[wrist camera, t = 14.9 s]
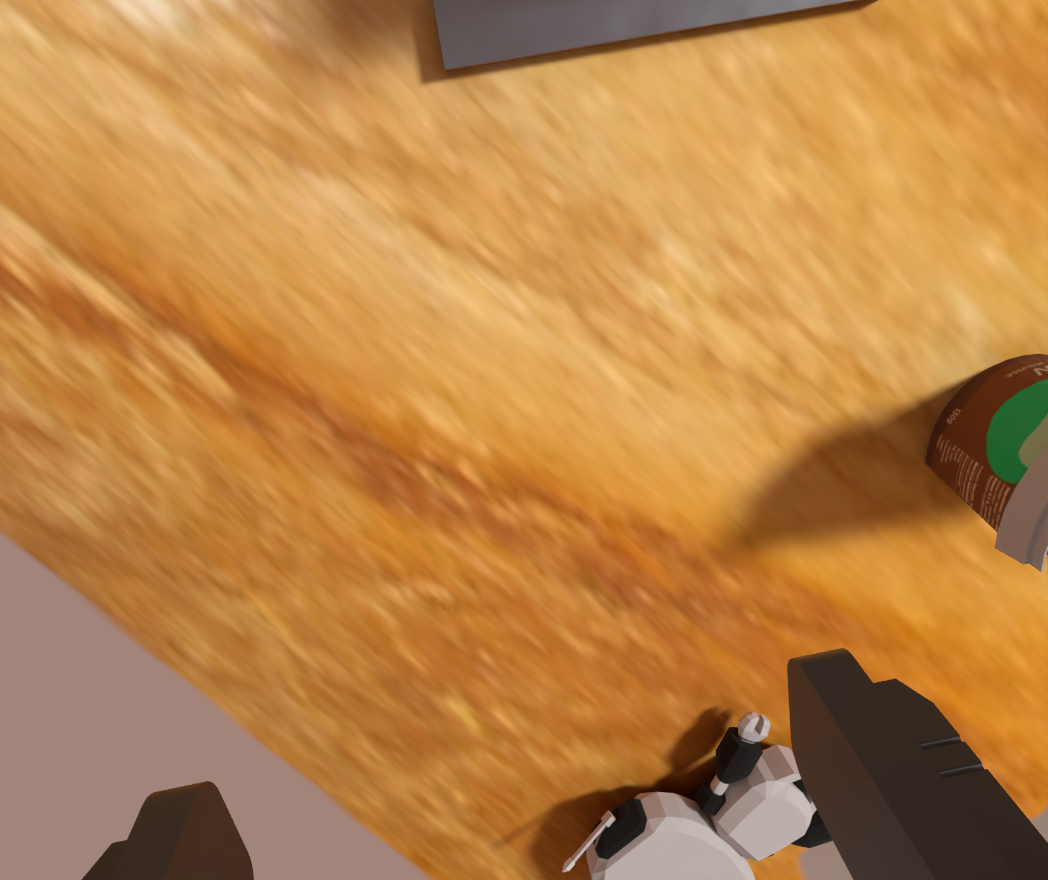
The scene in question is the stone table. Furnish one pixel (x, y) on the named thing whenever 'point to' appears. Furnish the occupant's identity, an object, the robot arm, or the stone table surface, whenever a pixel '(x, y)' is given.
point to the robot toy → (710, 818)
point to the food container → (1001, 453)
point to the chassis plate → (581, 23)
